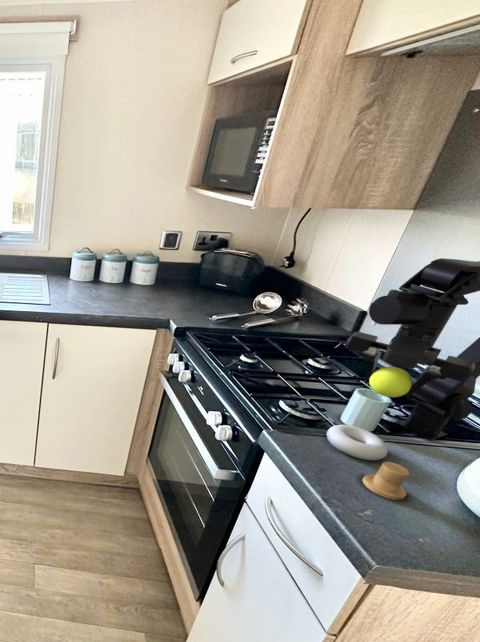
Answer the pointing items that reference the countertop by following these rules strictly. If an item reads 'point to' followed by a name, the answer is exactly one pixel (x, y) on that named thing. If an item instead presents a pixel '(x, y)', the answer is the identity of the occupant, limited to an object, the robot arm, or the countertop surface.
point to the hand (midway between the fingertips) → (386, 389)
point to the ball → (391, 381)
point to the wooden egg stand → (387, 481)
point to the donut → (357, 442)
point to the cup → (365, 409)
